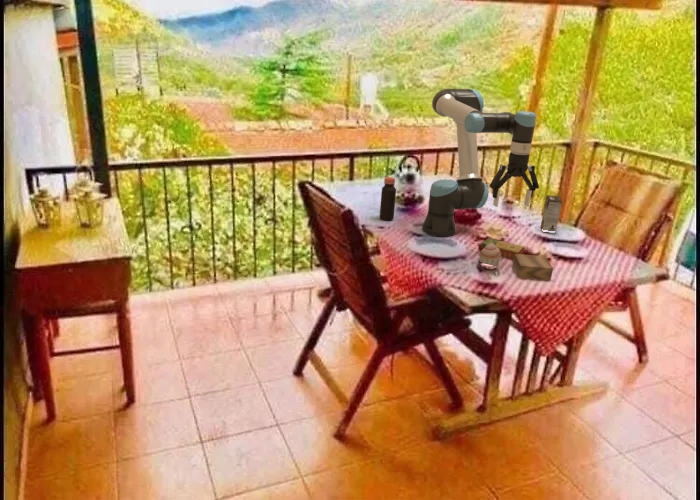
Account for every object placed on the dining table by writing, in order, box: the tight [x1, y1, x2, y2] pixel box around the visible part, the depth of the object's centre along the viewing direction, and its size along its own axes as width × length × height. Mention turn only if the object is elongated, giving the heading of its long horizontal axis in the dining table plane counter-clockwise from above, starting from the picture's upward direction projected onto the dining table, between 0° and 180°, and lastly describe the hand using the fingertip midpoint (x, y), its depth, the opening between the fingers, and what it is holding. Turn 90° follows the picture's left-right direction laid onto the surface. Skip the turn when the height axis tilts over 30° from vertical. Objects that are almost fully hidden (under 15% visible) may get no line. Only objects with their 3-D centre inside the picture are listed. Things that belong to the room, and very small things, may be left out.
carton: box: [480, 237, 525, 260], centre depth 238 cm, size 8×16×4 cm, turn 56°
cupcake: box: [478, 243, 503, 267], centre depth 222 cm, size 9×9×10 cm
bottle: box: [379, 176, 397, 222], centre depth 267 cm, size 7×7×20 cm
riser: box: [512, 253, 554, 281], centre depth 220 cm, size 12×12×5 cm
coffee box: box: [540, 194, 563, 232], centre depth 266 cm, size 9×6×16 cm
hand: (511, 205), depth 225 cm, fingers open, 13 cm apart
